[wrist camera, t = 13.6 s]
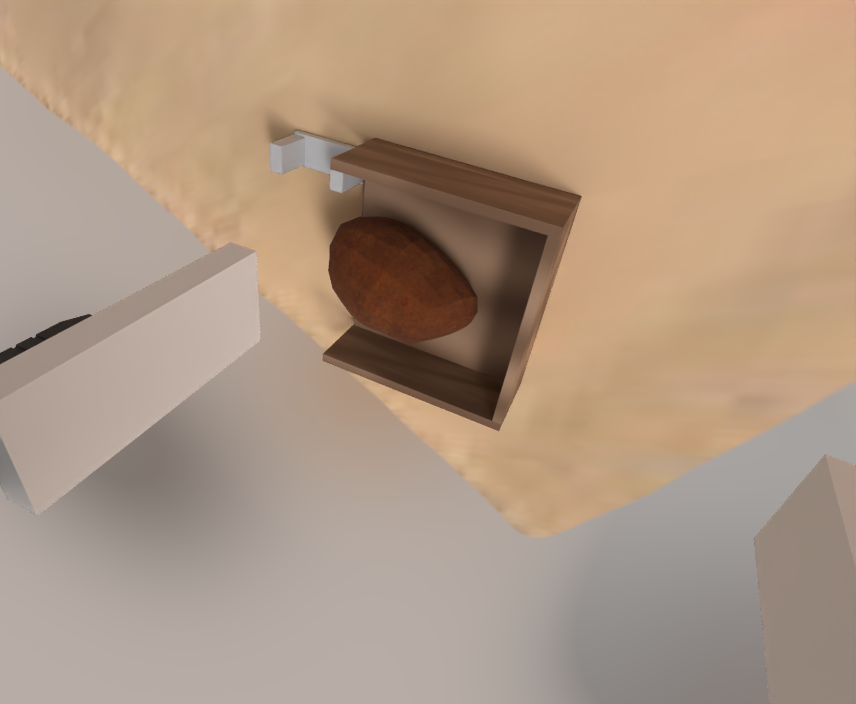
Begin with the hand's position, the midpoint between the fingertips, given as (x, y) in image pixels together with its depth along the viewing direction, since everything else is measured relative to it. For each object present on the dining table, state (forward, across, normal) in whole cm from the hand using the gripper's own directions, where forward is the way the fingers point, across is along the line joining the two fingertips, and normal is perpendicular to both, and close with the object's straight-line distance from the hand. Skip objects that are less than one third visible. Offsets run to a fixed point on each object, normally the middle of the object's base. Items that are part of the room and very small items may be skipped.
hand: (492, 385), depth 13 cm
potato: (+26, -11, -12) cm, 30 cm away
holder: (+27, -9, -12) cm, 31 cm away
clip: (+27, -20, -6) cm, 34 cm away
